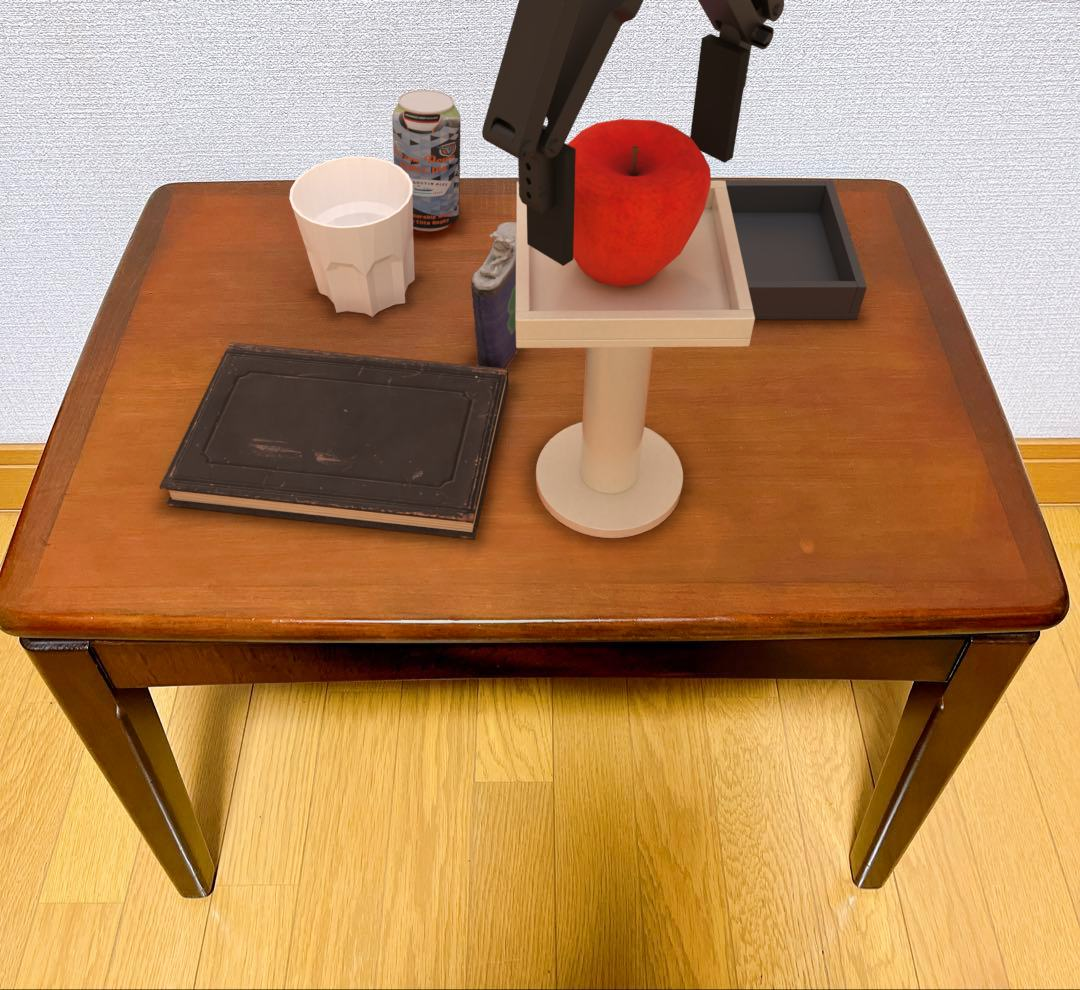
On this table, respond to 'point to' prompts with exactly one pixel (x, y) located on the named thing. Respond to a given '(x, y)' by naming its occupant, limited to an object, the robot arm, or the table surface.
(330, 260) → the cup
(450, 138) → the beverage can
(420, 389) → the hardcover book
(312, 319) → the table surface
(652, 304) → the pedestal tray stand
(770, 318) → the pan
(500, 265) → the flask
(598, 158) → the apple
